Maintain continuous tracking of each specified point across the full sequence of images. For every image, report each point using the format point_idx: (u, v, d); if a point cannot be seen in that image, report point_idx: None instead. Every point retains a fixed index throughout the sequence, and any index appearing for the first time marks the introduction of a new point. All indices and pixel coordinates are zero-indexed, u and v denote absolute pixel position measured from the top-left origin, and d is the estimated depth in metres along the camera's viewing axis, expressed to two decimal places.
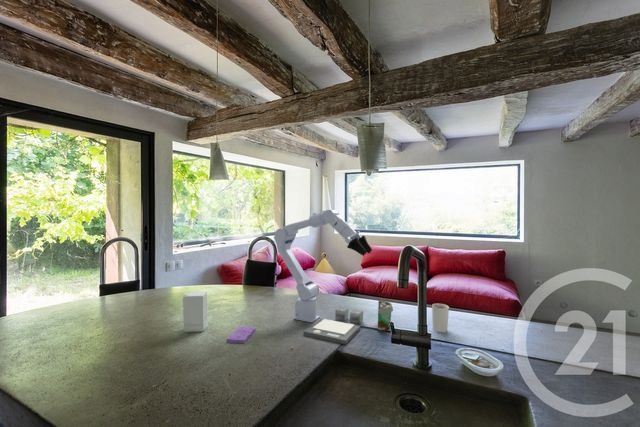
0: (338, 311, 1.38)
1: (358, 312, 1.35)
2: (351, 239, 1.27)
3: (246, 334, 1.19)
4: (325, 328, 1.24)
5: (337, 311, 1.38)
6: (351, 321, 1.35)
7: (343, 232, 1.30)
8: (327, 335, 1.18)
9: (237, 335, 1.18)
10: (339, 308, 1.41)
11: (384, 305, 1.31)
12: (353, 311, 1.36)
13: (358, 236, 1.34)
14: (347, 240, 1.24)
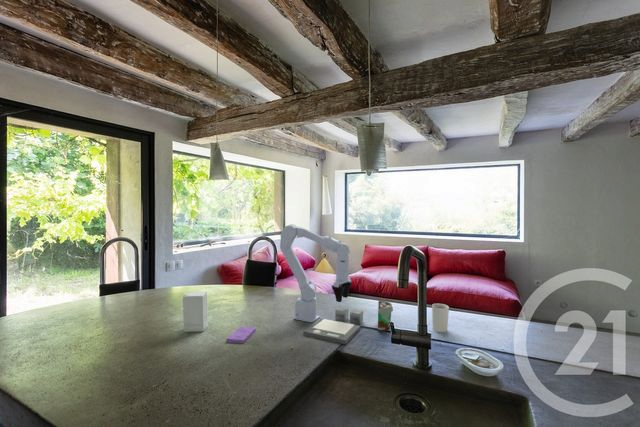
0: (338, 311, 1.38)
1: (358, 312, 1.35)
2: None
3: (246, 334, 1.19)
4: (325, 328, 1.24)
5: (337, 311, 1.38)
6: (351, 321, 1.35)
7: (339, 272, 1.37)
8: (327, 335, 1.18)
9: (237, 335, 1.18)
10: (339, 308, 1.41)
11: (384, 305, 1.31)
12: (353, 311, 1.36)
13: None
14: (335, 284, 1.33)
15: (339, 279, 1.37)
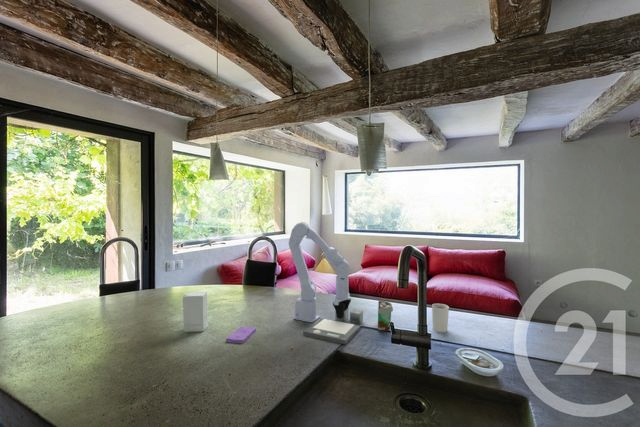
0: None
1: (358, 312, 1.35)
2: None
3: (245, 334, 1.19)
4: (325, 328, 1.24)
5: None
6: (351, 321, 1.35)
7: (339, 289, 1.37)
8: (327, 335, 1.18)
9: (236, 335, 1.18)
10: None
11: (384, 305, 1.31)
12: (353, 311, 1.36)
13: (347, 296, 1.43)
14: (335, 302, 1.33)
15: (339, 296, 1.37)
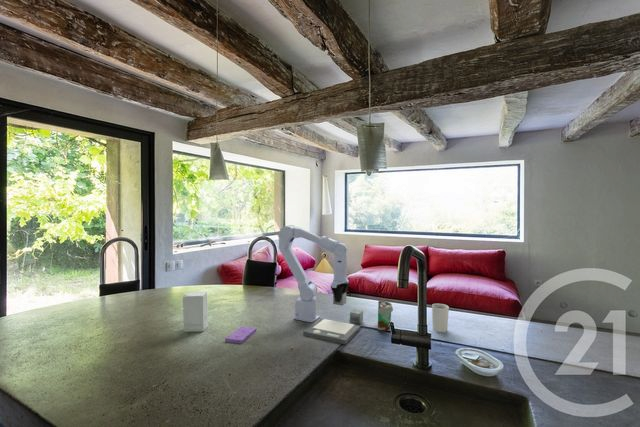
0: None
1: (358, 312, 1.35)
2: (337, 283, 1.34)
3: (245, 334, 1.19)
4: (325, 328, 1.24)
5: None
6: (351, 321, 1.35)
7: (337, 272, 1.35)
8: (327, 335, 1.18)
9: (236, 335, 1.18)
10: None
11: (384, 305, 1.31)
12: (353, 311, 1.36)
13: (345, 279, 1.41)
14: (333, 285, 1.31)
15: (337, 280, 1.35)
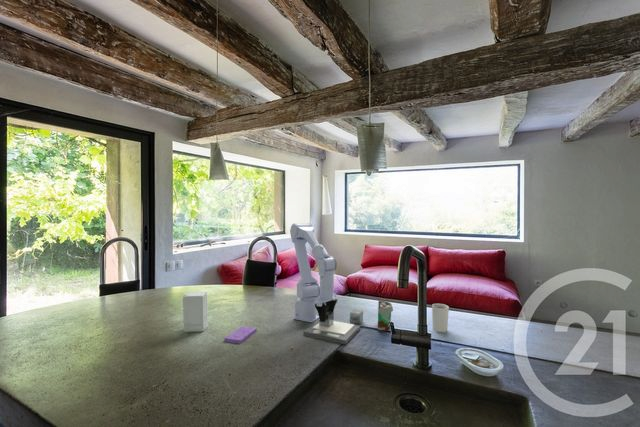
0: None
1: (358, 312, 1.35)
2: None
3: (244, 334, 1.19)
4: (325, 328, 1.24)
5: None
6: (351, 321, 1.35)
7: (323, 289, 1.26)
8: (327, 335, 1.18)
9: (235, 335, 1.19)
10: None
11: (384, 305, 1.31)
12: (353, 311, 1.36)
13: (332, 296, 1.32)
14: (318, 303, 1.22)
15: (323, 297, 1.26)
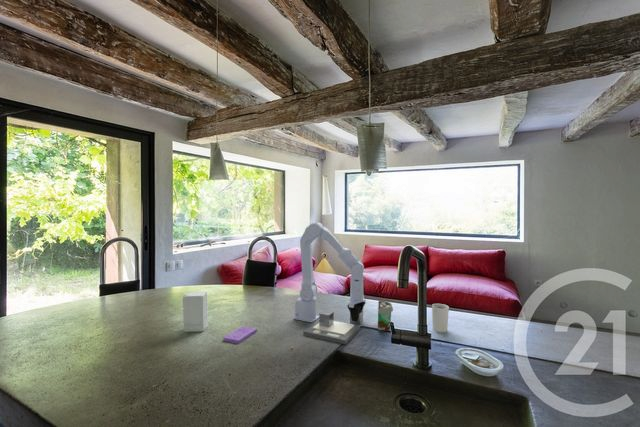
0: (322, 315, 1.27)
1: None
2: None
3: (244, 334, 1.19)
4: (325, 328, 1.24)
5: (321, 315, 1.27)
6: (351, 321, 1.35)
7: (354, 291, 1.34)
8: (327, 335, 1.18)
9: (235, 335, 1.19)
10: (323, 311, 1.30)
11: (384, 305, 1.31)
12: None
13: None
14: (350, 305, 1.30)
15: (354, 299, 1.34)
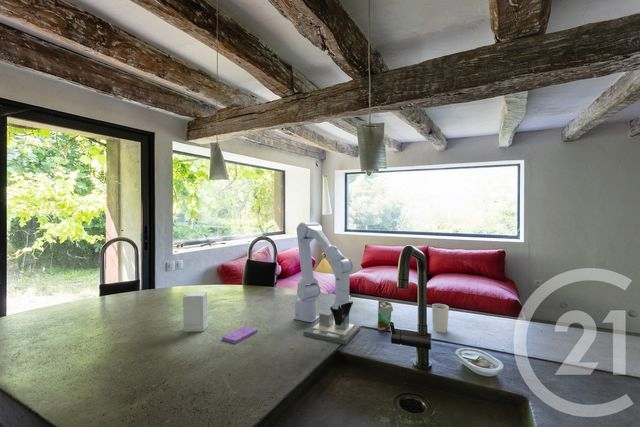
0: (322, 315, 1.27)
1: (343, 316, 1.24)
2: None
3: (242, 335, 1.19)
4: (325, 328, 1.24)
5: (321, 315, 1.27)
6: (336, 326, 1.24)
7: (339, 291, 1.23)
8: (327, 335, 1.18)
9: (234, 334, 1.19)
10: (323, 311, 1.30)
11: (384, 305, 1.31)
12: None
13: None
14: (334, 306, 1.19)
15: (338, 299, 1.23)
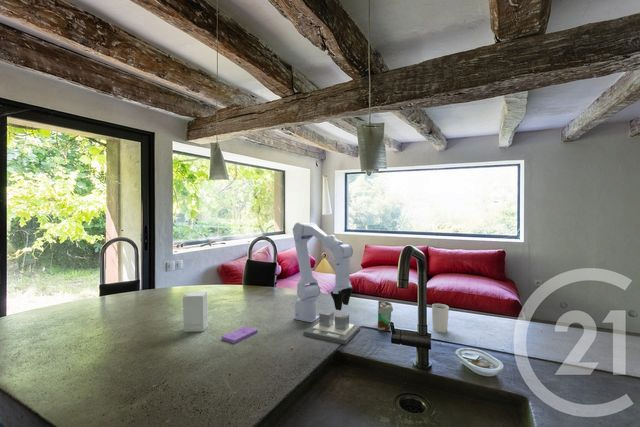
0: (322, 315, 1.27)
1: (343, 316, 1.24)
2: None
3: (242, 335, 1.19)
4: (325, 328, 1.24)
5: (321, 315, 1.27)
6: (336, 326, 1.24)
7: (339, 276, 1.22)
8: (327, 335, 1.18)
9: (233, 334, 1.19)
10: (323, 311, 1.30)
11: (384, 305, 1.31)
12: (338, 315, 1.25)
13: None
14: (335, 290, 1.18)
15: (339, 284, 1.22)
